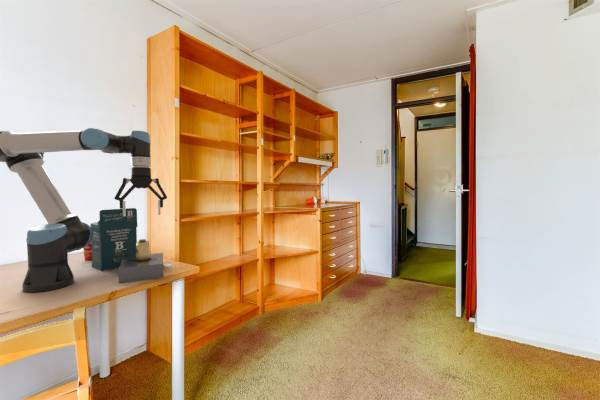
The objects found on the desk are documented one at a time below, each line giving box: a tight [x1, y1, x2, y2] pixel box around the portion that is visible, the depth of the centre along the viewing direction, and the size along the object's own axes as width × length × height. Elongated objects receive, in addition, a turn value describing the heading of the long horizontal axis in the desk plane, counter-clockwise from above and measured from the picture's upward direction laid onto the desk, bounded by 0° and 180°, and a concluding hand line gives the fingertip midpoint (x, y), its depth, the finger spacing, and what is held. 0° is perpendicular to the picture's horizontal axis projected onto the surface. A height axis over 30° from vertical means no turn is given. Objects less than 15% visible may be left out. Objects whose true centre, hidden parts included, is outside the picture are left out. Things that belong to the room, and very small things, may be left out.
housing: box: [118, 252, 164, 284], centre depth 129 cm, size 16×22×6 cm
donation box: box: [89, 207, 138, 272], centre depth 142 cm, size 16×16×28 cm
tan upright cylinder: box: [136, 238, 150, 262], centre depth 129 cm, size 5×5×13 cm
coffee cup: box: [82, 240, 92, 262], centre depth 153 cm, size 8×8×15 cm
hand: (142, 215), depth 128 cm, fingers open, 13 cm apart
